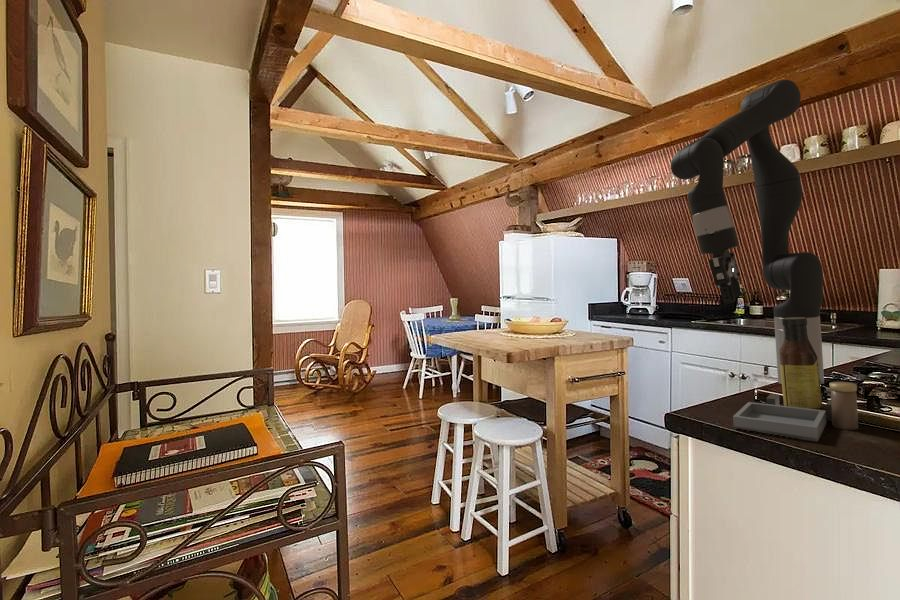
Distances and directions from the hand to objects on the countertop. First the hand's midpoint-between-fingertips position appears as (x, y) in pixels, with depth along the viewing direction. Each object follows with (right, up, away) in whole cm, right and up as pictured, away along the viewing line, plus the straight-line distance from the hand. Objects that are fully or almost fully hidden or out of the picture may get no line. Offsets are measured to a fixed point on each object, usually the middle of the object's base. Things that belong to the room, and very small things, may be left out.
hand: (733, 300), depth 99 cm
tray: (0, -24, -14) cm, 28 cm away
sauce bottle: (+9, -24, -8) cm, 27 cm away
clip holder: (+9, -23, -8) cm, 26 cm away
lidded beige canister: (+10, -24, -16) cm, 31 cm away
